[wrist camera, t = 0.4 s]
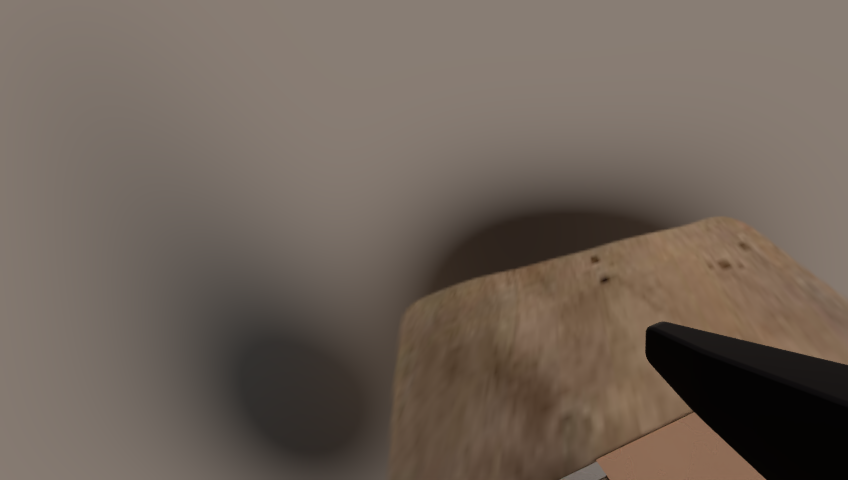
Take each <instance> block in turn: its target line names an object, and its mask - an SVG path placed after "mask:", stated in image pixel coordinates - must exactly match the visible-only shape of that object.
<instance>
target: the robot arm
mask: <svg viewBox="0 0 848 480" xmlns="http://www.w3.org/2000/svg"><path fill="white" fill-rule="evenodd" d="M645 353H646V357H647V359H648V361H649V363H650V364H651V365H652V366H653V367H654V368H655V369H656V371H657V372H658V373H659V374H660V375H661V376H662V377H663V378H664V379H665V381H666V382H667V383H668V384H669V385H670V386H671V387H672V388H673V389H674V391H675V392H676V393H677V394H678V395H679V396H680V397H681V398H682V399H683V400H684V402H685V403H686V404H687V405H688V406H689V407H690V408H691V409H692V410H693V411H694V412H695V413H696V414H697V415H698V416H699V417H700V418H701V419H702V420H703V421H704V422H705V423H706V424H707V425H708V426H709V427H710V428H711V429H712V430H713V431H714V432H715V433H716V434H718V435H719V436H720V437H721V438H722V439H723V440H724V441H725V442H726V443H727V444H728V445H729V446H730V447H731V448H733V449H734V450H735V451H736V452H737V453H738V454H739V455H740V456H741V457H742V458H743V459H744V460H745V461H747V462H748V463H749V464H750V465H751V466H752V467H753V468H754V469H755V470H756V471H757V472H758V473H759V474H760V475H762V476H763V477H764V478H765V479H766V480H848V365H845V364H841V363H837V362H833V361H828V360H824V359H820V358H816V357H812V356H807V355H803V354H799V353H795V352H791V351H786V350H782V349H778V348H774V347H770V346H765V345H761V344H757V343H753V342H749V341H744V340H740V339H736V338H732V337H727V336H723V335H719V334H715V333H711V332H706V331H702V330H698V329H694V328H690V327H685V326H681V325H677V324H673V323H669V322H659V323H656V324H654V325H652V326H649V327H648V328H647V330H646V347H645Z"/></svg>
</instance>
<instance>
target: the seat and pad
mask: <svg viewBox="0 0 848 480" xmlns="http://www.w3.org/2000/svg"><path fill="white" fill-rule="evenodd" d="M606 476H607V478H608V479H609V480H766V479H765V478H764V477H763V476H762V475H760V474H759V473H758V472H757V471H756V470H755V469H754V468H753V467H752V466H751V465H750V464H749V463H748V462H747V461H745V460H744V459H743V458H742V457H741V456H740V455H739V454H738V453H737V452H736V451H735V450H734V449H733V448H731V447H730V446H729V445H728V444H727V443H726V442H725V441H724V440H723V439H722V438H721V437H720V436H719V435H718V434H716V433H715V432H714V431H713V430H712V429H711V428H710V427H709V426H708V425H707V424H706V423H705V422H704V421H703V420H702V419H701V418H700V417H699V416H698V415H697V414H696V413H695V412H694V413H691V414H689V415H687V416H685V417H683V418H681V419H679V420H677V421H675V422H673V423H671V424H669V425H667V426H665V427H663V428H660V429H658V430H656V431H654V432H652V433H650V434H648V435H646V436H644V437H642V438H640V439H638V440H636V441H634V442H632V443H629V444H627V445H625V446H623V447H621V448H619V449H617V450H615V451H613V452H611V453H609V454H607V455H605V456H603V457H601V458H598V459H596V462H595V463H593V464H591V465H589V466H587V467H585V468H583V469H580V470H578V471H576V472H574V473H572V474H570V475H568V476H566V477H564V478H562V479H560V480H600V479H602V478H604V477H606Z"/></svg>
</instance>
